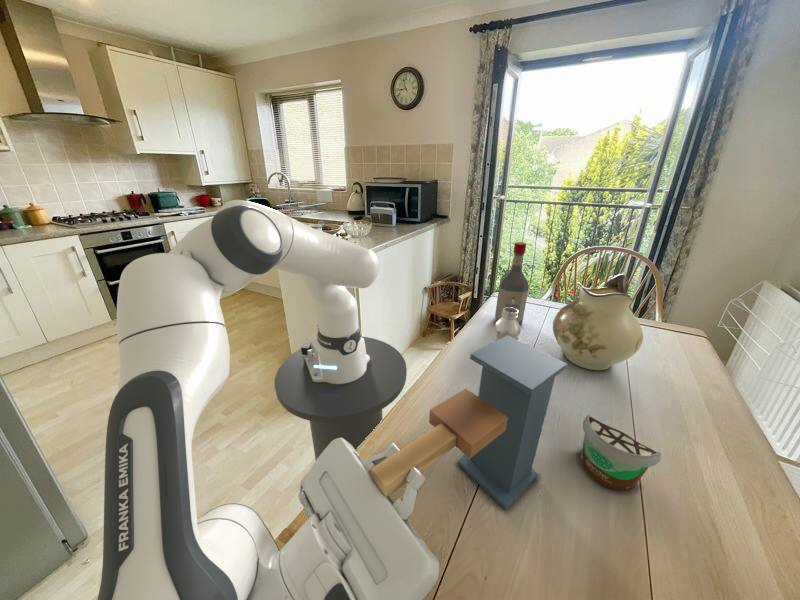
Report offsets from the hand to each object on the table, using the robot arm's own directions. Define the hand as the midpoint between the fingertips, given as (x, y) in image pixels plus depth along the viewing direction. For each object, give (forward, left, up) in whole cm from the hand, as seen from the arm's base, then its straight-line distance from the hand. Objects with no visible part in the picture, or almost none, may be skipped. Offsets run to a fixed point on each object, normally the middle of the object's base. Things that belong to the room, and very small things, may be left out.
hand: (409, 459), depth 39 cm
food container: (+13, +37, -20) cm, 44 cm away
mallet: (0, +5, -1) cm, 5 cm away
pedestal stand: (0, +22, -20) cm, 30 cm away
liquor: (-35, +76, -20) cm, 86 cm away
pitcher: (-7, +76, -20) cm, 79 cm away
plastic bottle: (-18, +48, -20) cm, 55 cm away
